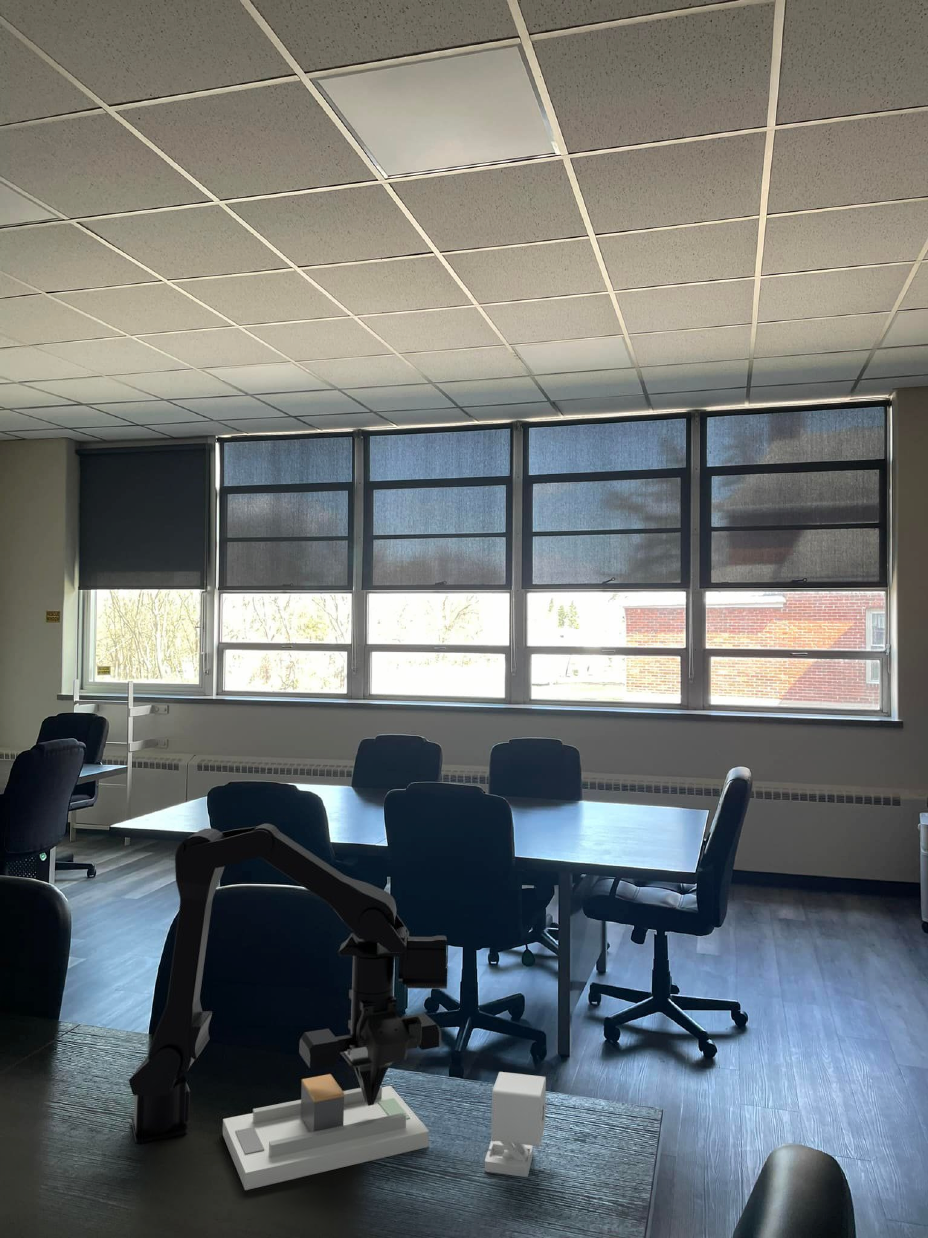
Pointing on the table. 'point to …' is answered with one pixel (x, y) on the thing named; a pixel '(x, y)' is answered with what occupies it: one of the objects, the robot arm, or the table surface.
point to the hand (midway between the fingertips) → (369, 1104)
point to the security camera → (516, 1122)
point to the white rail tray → (320, 1138)
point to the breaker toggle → (321, 1103)
